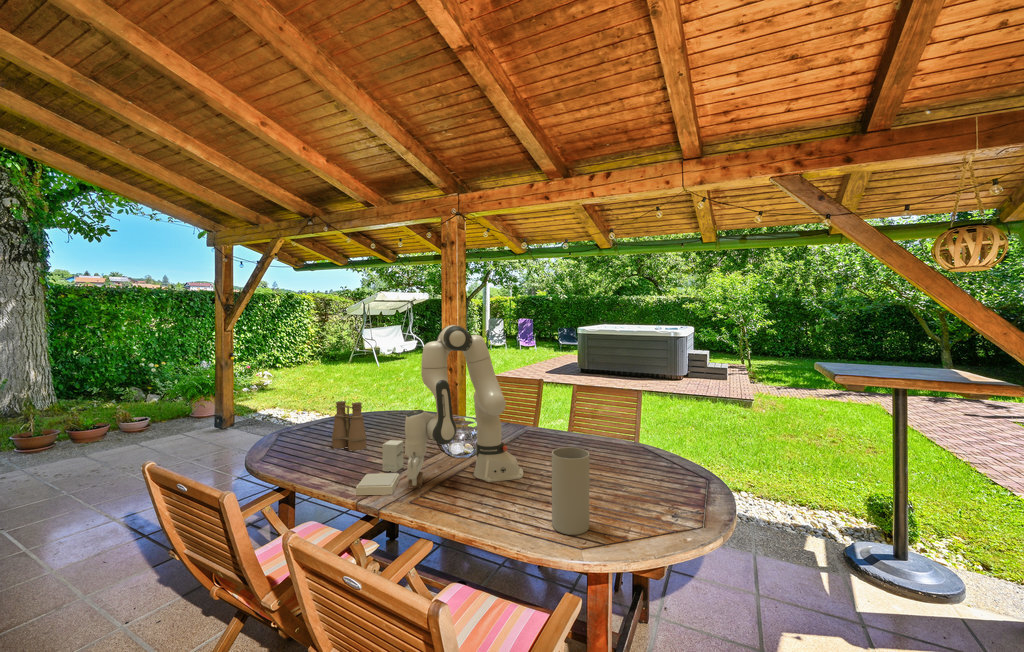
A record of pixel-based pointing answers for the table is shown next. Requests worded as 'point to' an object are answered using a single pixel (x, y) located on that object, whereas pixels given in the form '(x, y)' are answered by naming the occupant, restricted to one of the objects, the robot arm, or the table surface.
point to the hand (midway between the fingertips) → (415, 481)
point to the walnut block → (419, 480)
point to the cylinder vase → (570, 490)
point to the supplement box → (392, 455)
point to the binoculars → (349, 427)
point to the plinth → (377, 484)
